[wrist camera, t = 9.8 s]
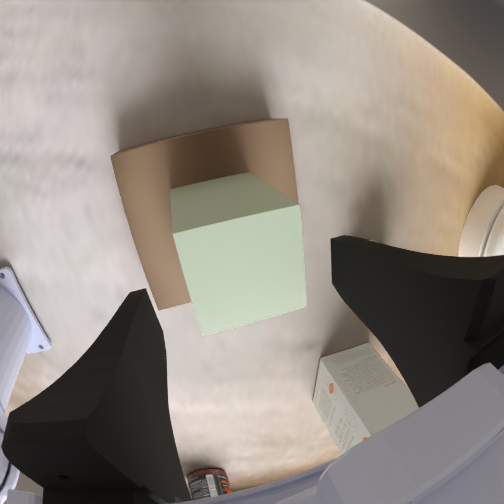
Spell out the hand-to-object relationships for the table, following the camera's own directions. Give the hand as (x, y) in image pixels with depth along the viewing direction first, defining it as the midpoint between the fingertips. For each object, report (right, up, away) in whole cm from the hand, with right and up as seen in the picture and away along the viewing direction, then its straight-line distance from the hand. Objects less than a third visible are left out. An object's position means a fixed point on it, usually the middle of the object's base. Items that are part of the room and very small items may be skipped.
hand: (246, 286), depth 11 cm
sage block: (-2, +3, +6) cm, 7 cm away
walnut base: (-3, +4, +9) cm, 10 cm away
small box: (+10, -12, +21) cm, 26 cm away
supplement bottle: (-7, -32, +24) cm, 40 cm away
